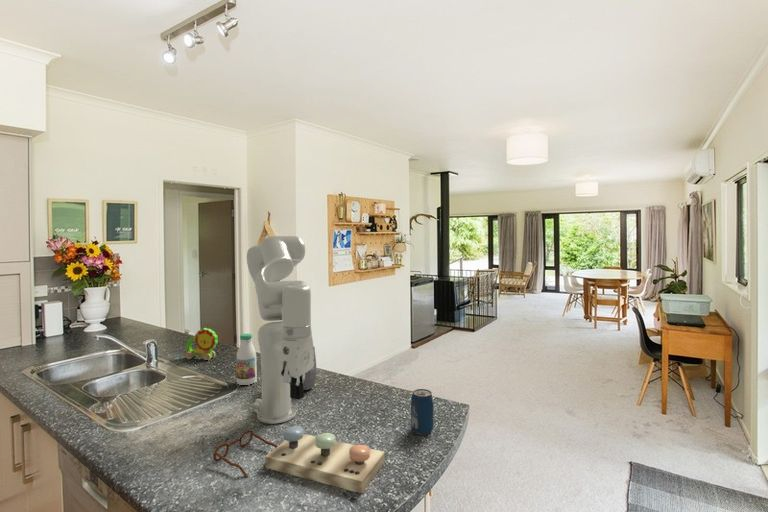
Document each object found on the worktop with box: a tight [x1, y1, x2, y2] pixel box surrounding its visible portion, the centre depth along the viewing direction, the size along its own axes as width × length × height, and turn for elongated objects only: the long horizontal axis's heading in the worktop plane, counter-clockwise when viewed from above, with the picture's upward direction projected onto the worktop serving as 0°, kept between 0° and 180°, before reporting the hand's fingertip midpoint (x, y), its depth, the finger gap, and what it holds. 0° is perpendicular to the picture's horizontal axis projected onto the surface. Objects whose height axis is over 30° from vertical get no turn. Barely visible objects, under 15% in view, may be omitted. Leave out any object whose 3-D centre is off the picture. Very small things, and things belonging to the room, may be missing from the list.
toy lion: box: [184, 327, 219, 361], centre depth 197 cm, size 16×5×15 cm, turn 79°
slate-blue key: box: [283, 425, 304, 441], centre depth 110 cm, size 5×5×2 cm
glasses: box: [212, 429, 279, 478], centre depth 110 cm, size 13×13×5 cm
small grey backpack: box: [303, 345, 317, 391], centre depth 159 cm, size 15×8×20 cm, turn 58°
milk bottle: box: [236, 333, 258, 386], centre depth 165 cm, size 8×8×20 cm
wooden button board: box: [264, 433, 386, 494], centre depth 107 cm, size 28×14×4 cm, turn 68°
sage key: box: [315, 432, 336, 449], centre depth 107 cm, size 5×5×2 cm
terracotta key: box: [349, 444, 371, 462], centre depth 103 cm, size 5×5×2 cm
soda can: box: [410, 388, 435, 436], centre depth 126 cm, size 7×7×12 cm
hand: (296, 397), depth 110 cm, fingers closed
